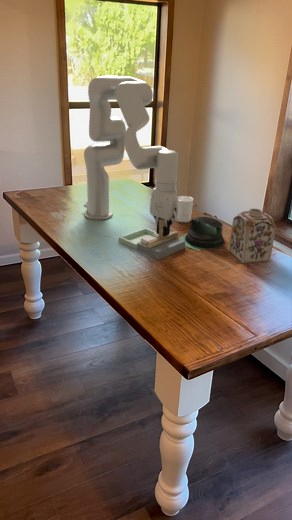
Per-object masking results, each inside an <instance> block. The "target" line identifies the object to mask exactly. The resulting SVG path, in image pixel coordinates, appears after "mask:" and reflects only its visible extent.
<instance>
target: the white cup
mask: <svg viewBox="0 0 292 520" xmlns="http://www.w3.org/2000/svg"><path fill="white" fill-rule="evenodd" d="M194 200H195V199H194V198H193V197H191V196H188V195H179V196H178V215H177V218H178V222H177V223H189V222H191V220H192V214H193V212H192V211H193V208H194V207H193V206H194Z"/></svg>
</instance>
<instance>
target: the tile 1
mask: <svg viewBox="0 0 292 520" xmlns="http://www.w3.org/2000/svg"><path fill="white" fill-rule="evenodd" d="M152 239H155V237H152V236H150V235H148V236H146V237H143V238H141V242H142V243H145V244H146V242H147V241H150V240H152Z"/></svg>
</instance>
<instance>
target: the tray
mask: <svg viewBox="0 0 292 520" xmlns="http://www.w3.org/2000/svg"><path fill="white" fill-rule="evenodd" d="M154 233H156V231H154V230H153V229H152V230H151V229H150V228H147V227H143V228H141V229H138V230H134V231H132V232H130V233H127V234H124V235H120V236H119V237H118V243H120V244H122V245H123V246H126V247H128V248H131V249H133V250H135V251H137V243H138V242H141V238H143V237H146V236H148V235H150V236H152V237H153V235H154Z"/></svg>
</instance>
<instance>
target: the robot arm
mask: <svg viewBox="0 0 292 520" xmlns="http://www.w3.org/2000/svg"><path fill="white" fill-rule="evenodd" d="M87 93H88V100H89V123H88V135H89V138H90V140H91V141H92V142H94V143H95V142H96V143H95V144H91V145H88V146H86V147H85V149H84V152H83V158H84V159H83V160H84V163H85V169H86V190H87V191H86V192H87V194H86V195H87V196H86V197H87V201H86V202H85V204H83V207H84V208H86V211H84V217H85V218H87V219H89V220H95V221H99V220H100V221H102V220H108V219H110V218H111V217H113V212H112V211H111V210H110V183H109V182H110V177H109V174H108V172H107V171H106V170H105V167H108V166H109V167H111V166H115V165H120V164H121V163H122V162H123V160H124V157H125V156H124V155H125V152H126V154H127V156H128V159H129V161H130V163H131V164H132V166H133V167H134V168H135V169H137V170H147V169H155V179H154V180H153V184H154V185H155V186H154V188H153V190H152V192H151V196H150V197H151V198H150V206H149V213H150V215H151V216H152V217H153V218H154V220H155V221H154V222H155V224H156V231H155V232H156V234H159V219H161V218H162V219H165V224H164V225H165V226H163V236H164V237H165V236H168V235H169V233H171V226H172V225H173V224H176V223H179V222H178V218H177V215H178V191H177V183H178V169H179V168H178V167H179V153H178V152H177V151H176V150H173V149H172V150H171V149H168V148H166V147H165V146H162V145H153V146H142V147H141V145H140V142H139V141H138V138H137V132H138V131H140V130H141V129H143V128H144V127H146V126H147V125H148V124H149V122H150V115H149V113H148V111H147V109H146V106H148V105H150V104H151V103H152V101H153V96H154V93H153V89H152V87H151V85H150V84H149V83H147V82H146V81H143V80H141V79H138V78H135V77H132V76H127V75H124V76H123V75H120V76H119V75H101V76H95V77H94V78H92V79H91V80H90V81H89V83H88V89H87ZM109 100H110V101H111V100H112V101H114V100H115V101H116V102H117V104H118V107H119V109H120V111H121V113H122V116H123V118H124V120H125V122H124V121H123V119H122V118H120V117H118V116H111V115H112V107H111V103H110V102H109ZM126 127H127V128H126ZM103 142H105V143H103Z"/></svg>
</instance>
